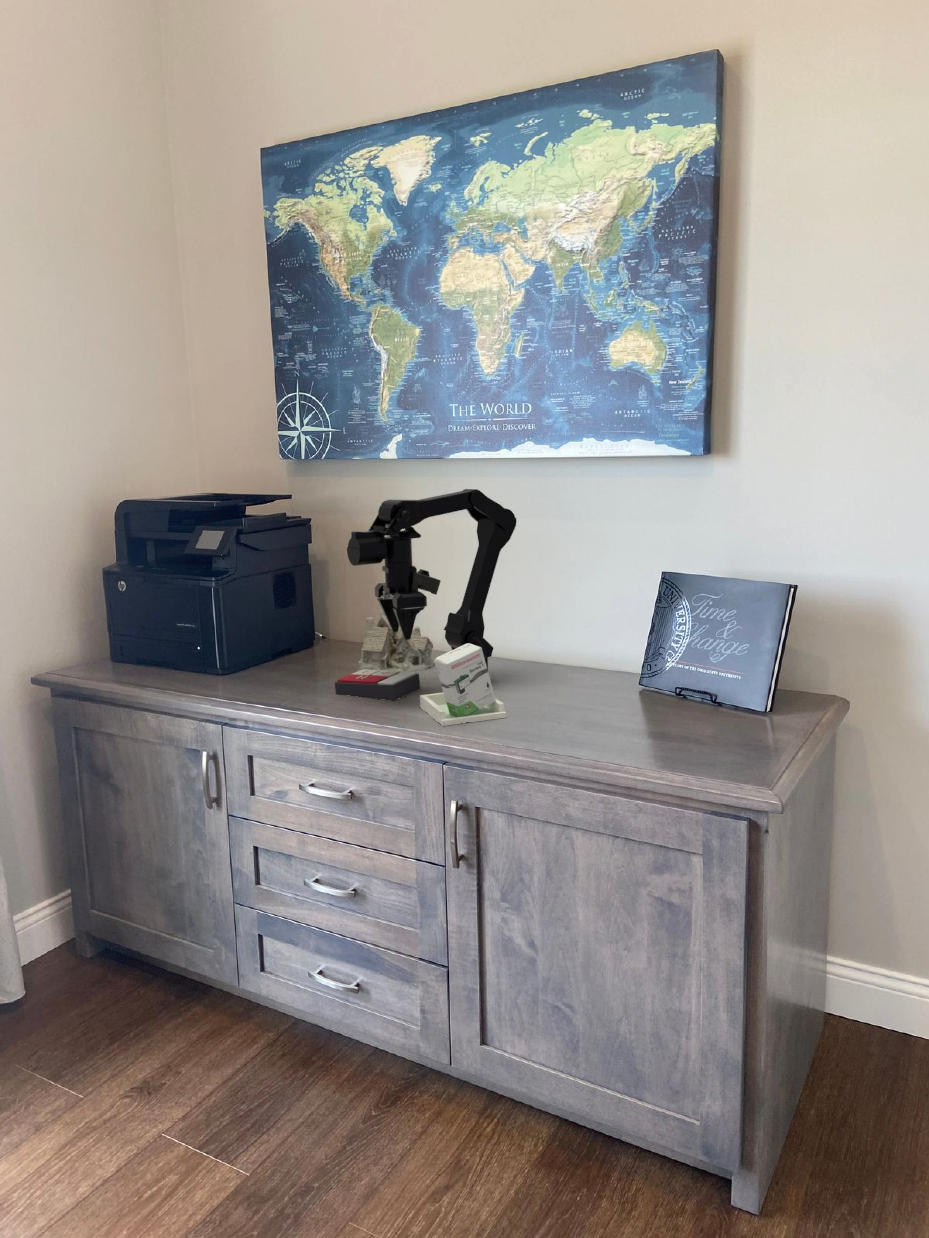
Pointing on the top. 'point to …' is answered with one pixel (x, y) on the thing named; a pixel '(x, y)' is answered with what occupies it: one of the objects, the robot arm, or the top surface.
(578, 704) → the top surface
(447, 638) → the robot arm
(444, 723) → the bay
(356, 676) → the calculator
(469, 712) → the ink box
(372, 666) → the ceramic cottage
